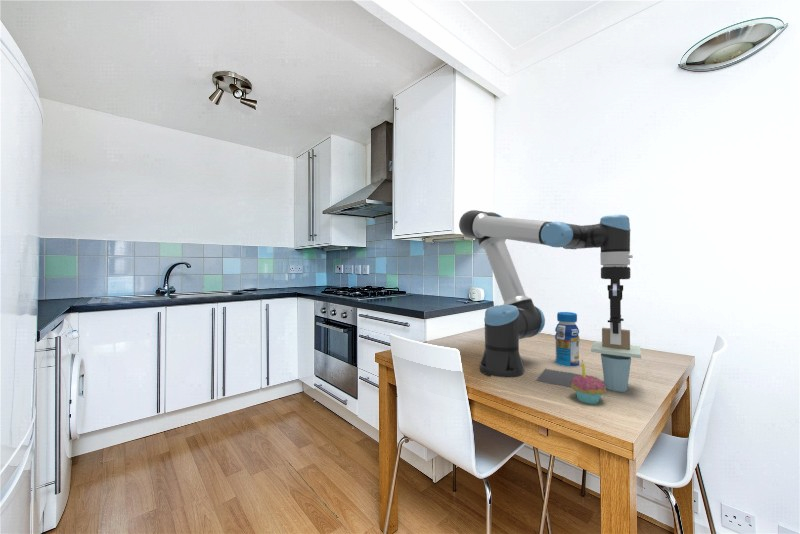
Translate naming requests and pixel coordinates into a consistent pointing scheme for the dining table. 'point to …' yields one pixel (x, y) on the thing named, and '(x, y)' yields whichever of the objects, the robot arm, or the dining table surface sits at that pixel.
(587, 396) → the cupcake
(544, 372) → the mat
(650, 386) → the dining table surface
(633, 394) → the dining table surface
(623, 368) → the cup
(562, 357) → the beverage bottle
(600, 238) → the robot arm
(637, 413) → the dining table surface
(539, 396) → the dining table surface
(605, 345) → the lid
